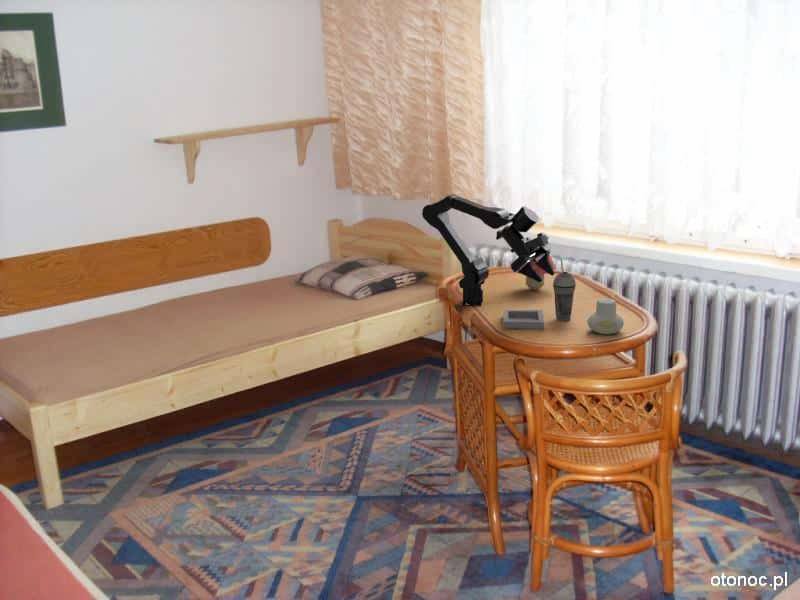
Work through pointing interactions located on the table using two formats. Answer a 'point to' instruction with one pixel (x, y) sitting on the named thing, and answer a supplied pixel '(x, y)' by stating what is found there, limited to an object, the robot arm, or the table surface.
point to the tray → (523, 319)
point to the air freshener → (605, 317)
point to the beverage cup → (563, 294)
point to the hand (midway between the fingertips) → (547, 278)
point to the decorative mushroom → (535, 284)
